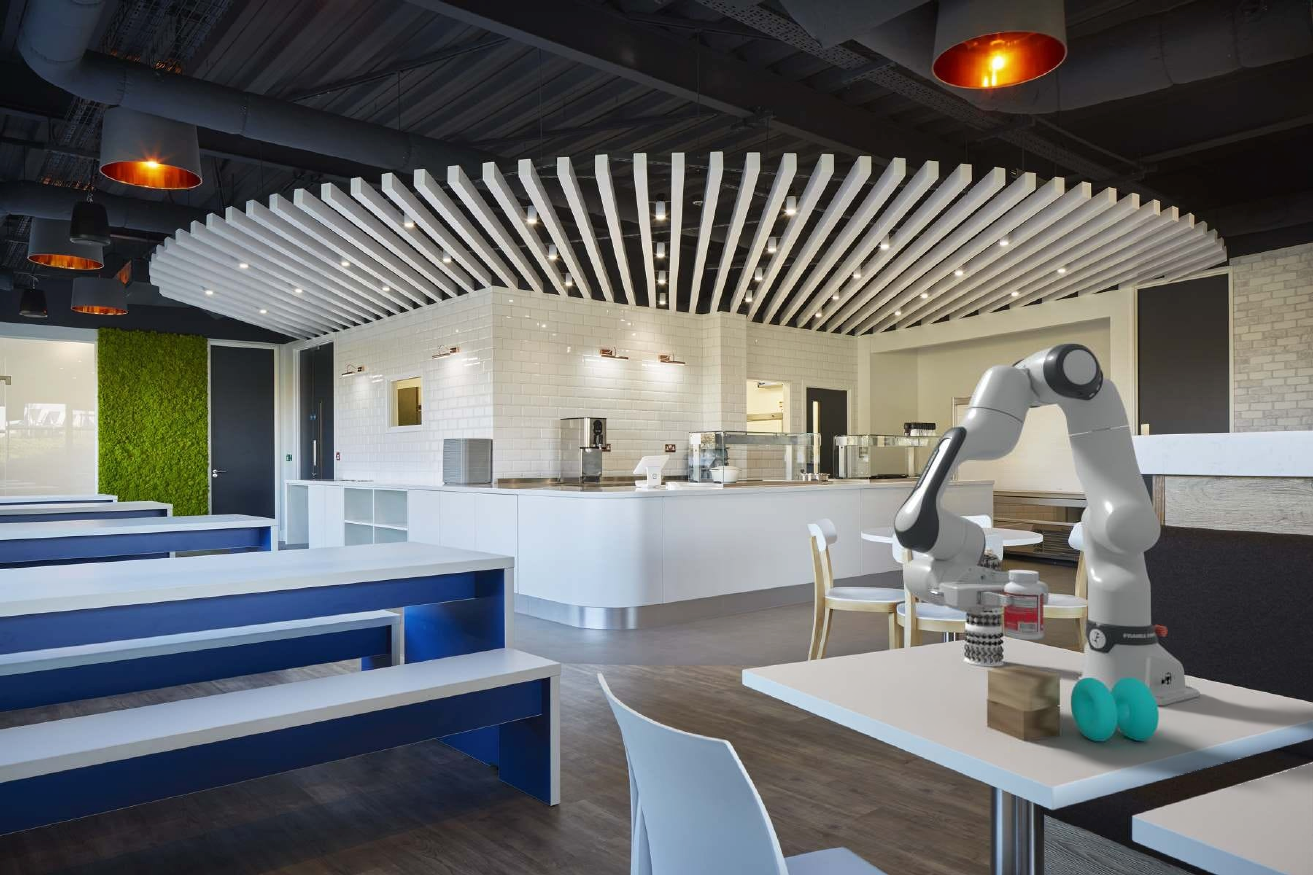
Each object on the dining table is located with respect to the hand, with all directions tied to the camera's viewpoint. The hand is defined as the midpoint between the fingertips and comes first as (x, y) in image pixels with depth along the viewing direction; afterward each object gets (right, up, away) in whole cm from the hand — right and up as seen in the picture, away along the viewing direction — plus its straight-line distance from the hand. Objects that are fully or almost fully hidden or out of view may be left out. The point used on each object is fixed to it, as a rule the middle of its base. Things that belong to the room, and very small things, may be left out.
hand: (1027, 600), depth 141 cm
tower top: (-1, -17, 0) cm, 17 cm away
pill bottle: (0, -6, +1) cm, 6 cm away
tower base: (-1, -22, 0) cm, 22 cm away
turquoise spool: (+13, -22, -4) cm, 26 cm away
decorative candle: (+12, -24, +51) cm, 58 cm away
